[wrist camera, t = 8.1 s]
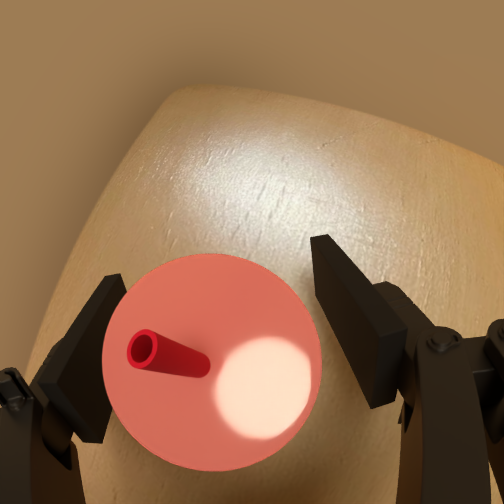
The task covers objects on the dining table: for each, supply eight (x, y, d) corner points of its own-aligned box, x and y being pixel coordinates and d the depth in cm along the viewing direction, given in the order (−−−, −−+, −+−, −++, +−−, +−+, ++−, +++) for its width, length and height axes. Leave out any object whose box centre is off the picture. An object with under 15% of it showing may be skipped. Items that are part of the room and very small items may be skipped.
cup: (169, 362, 15) (-13, 316, 4) (245, 297, 16) (192, 133, 5) (236, 440, 14) (152, 570, 3) (316, 371, 15) (430, 357, 4)
